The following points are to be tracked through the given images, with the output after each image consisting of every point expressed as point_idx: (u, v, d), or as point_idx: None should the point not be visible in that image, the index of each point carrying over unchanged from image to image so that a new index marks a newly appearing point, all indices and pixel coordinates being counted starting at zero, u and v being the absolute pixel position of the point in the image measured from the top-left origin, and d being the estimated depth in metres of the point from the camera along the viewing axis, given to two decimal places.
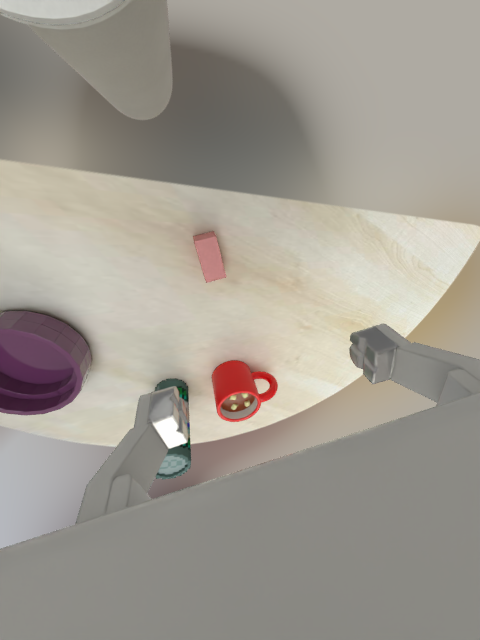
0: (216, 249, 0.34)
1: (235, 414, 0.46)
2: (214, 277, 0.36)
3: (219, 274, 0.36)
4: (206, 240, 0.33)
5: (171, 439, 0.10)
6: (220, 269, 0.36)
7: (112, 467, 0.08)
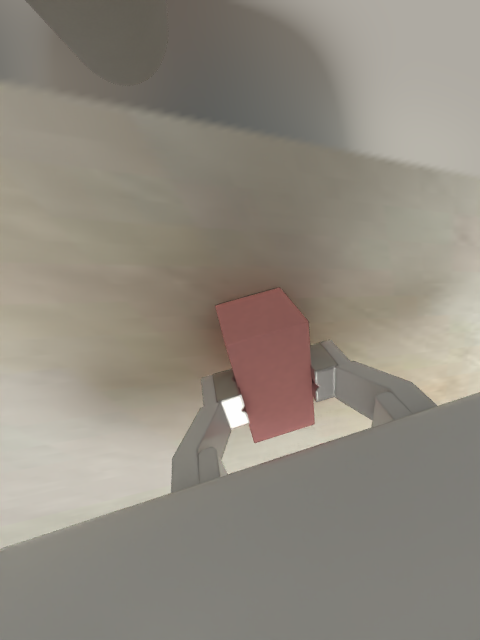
0: (302, 360, 0.10)
1: None
2: (280, 429, 0.12)
3: (296, 420, 0.12)
4: (270, 338, 0.09)
5: (235, 419, 0.10)
6: (301, 409, 0.11)
7: (193, 441, 0.08)
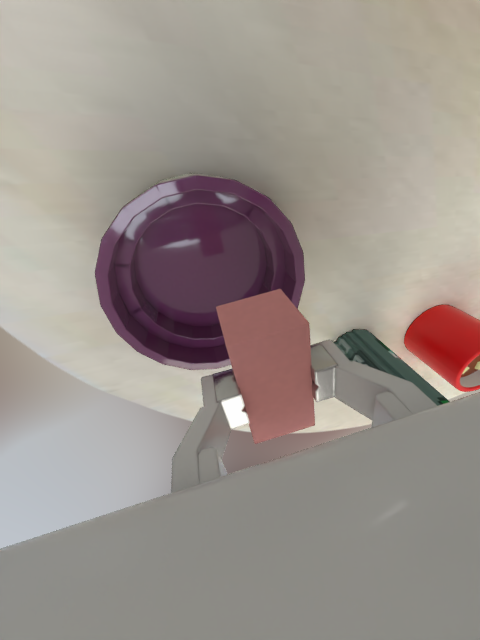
0: (303, 361, 0.10)
1: (461, 381, 0.31)
2: (281, 430, 0.12)
3: (297, 421, 0.12)
4: (270, 339, 0.09)
5: (235, 419, 0.10)
6: (301, 410, 0.11)
7: (193, 441, 0.08)
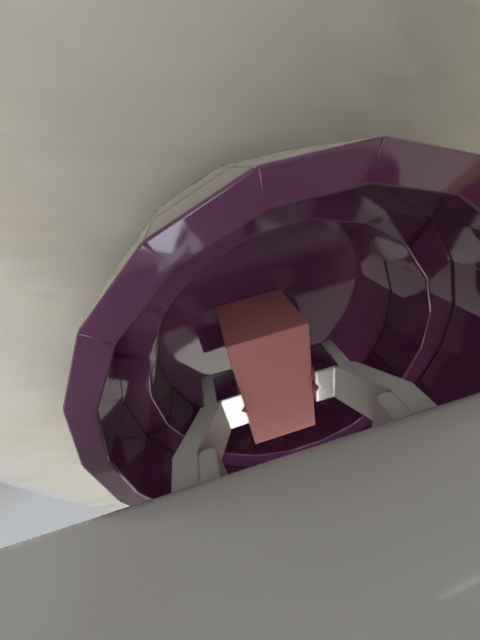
0: (303, 362, 0.10)
1: None
2: (281, 430, 0.12)
3: (297, 421, 0.12)
4: (270, 340, 0.09)
5: (235, 419, 0.10)
6: (301, 410, 0.11)
7: (194, 441, 0.08)
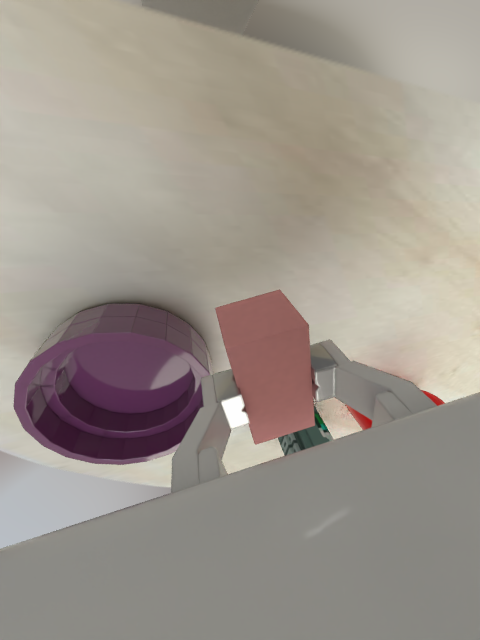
0: (302, 363, 0.10)
1: None
2: (281, 430, 0.12)
3: (297, 422, 0.12)
4: (270, 341, 0.09)
5: (235, 419, 0.10)
6: (301, 411, 0.11)
7: (193, 441, 0.08)
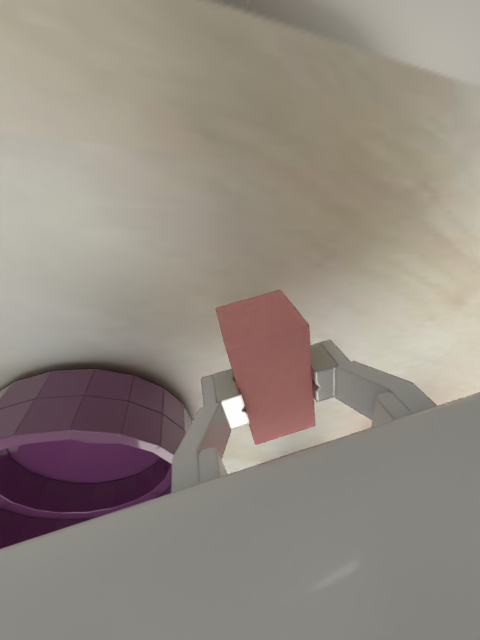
0: (303, 363, 0.10)
1: None
2: (281, 431, 0.12)
3: (297, 422, 0.12)
4: (270, 341, 0.09)
5: (235, 419, 0.10)
6: (301, 411, 0.11)
7: (193, 441, 0.08)
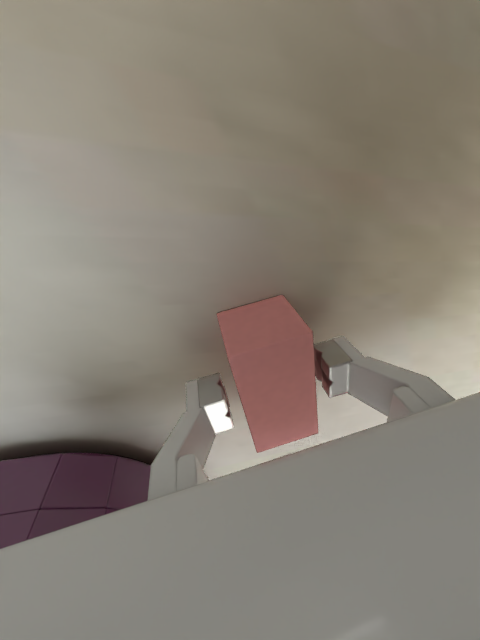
0: (306, 370, 0.09)
1: None
2: (283, 438, 0.11)
3: (300, 430, 0.11)
4: (273, 349, 0.09)
5: (219, 424, 0.10)
6: (304, 418, 0.11)
7: (173, 448, 0.08)
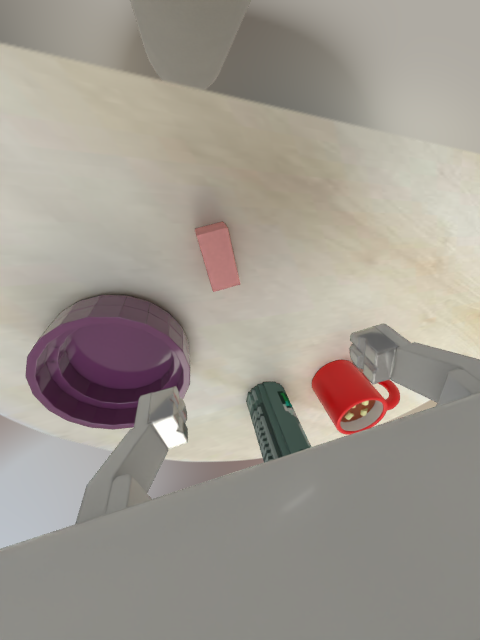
0: (228, 246, 0.24)
1: (349, 425, 0.38)
2: (224, 284, 0.26)
3: (231, 280, 0.26)
4: (213, 233, 0.23)
5: (171, 439, 0.10)
6: (232, 273, 0.26)
7: (112, 467, 0.08)
